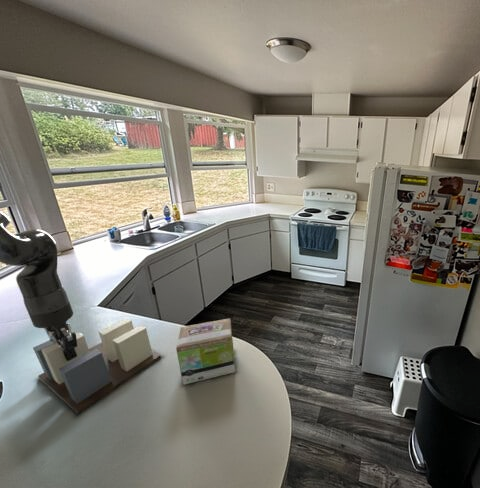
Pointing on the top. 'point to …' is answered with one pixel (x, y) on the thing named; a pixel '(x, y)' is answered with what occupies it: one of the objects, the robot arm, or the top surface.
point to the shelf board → (117, 380)
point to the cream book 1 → (57, 357)
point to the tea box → (205, 350)
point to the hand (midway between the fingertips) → (68, 356)
